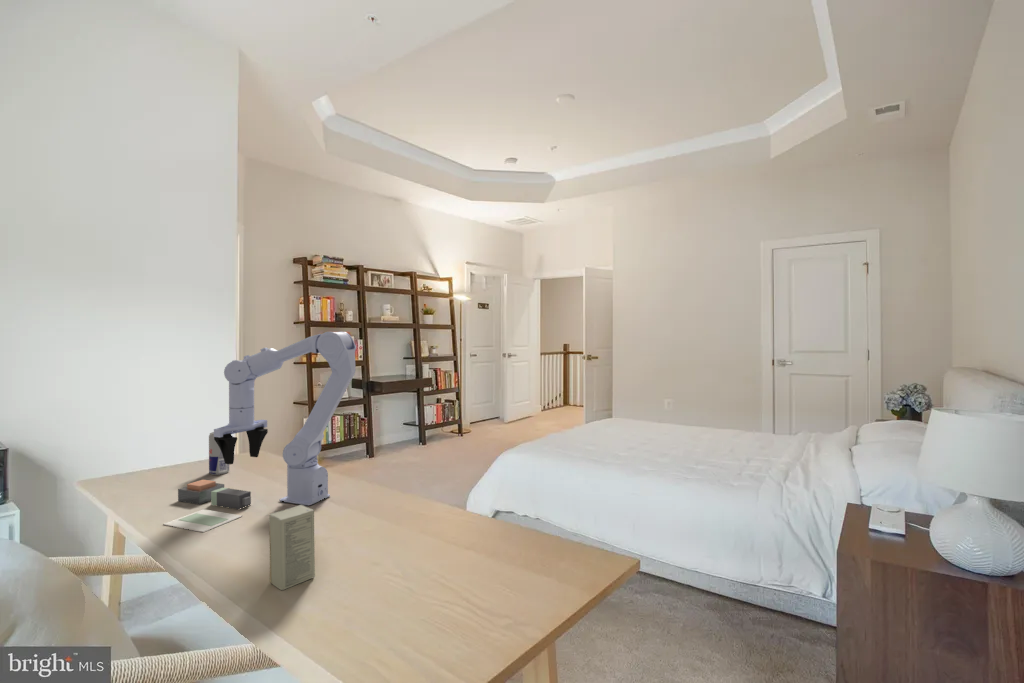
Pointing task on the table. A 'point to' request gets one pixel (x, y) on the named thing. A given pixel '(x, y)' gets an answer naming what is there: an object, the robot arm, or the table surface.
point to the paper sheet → (202, 520)
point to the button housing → (197, 494)
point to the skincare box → (291, 546)
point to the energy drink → (216, 458)
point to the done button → (201, 485)
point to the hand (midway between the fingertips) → (241, 460)
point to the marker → (230, 498)
